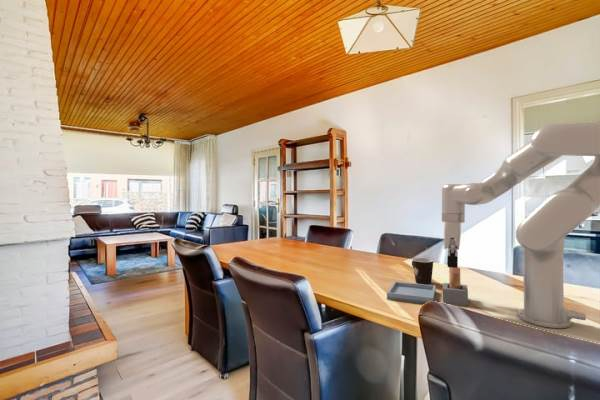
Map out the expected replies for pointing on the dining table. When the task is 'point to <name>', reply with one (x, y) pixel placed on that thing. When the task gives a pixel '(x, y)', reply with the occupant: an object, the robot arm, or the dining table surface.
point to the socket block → (455, 294)
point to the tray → (411, 292)
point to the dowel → (454, 278)
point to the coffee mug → (423, 270)
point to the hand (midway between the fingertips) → (452, 264)
